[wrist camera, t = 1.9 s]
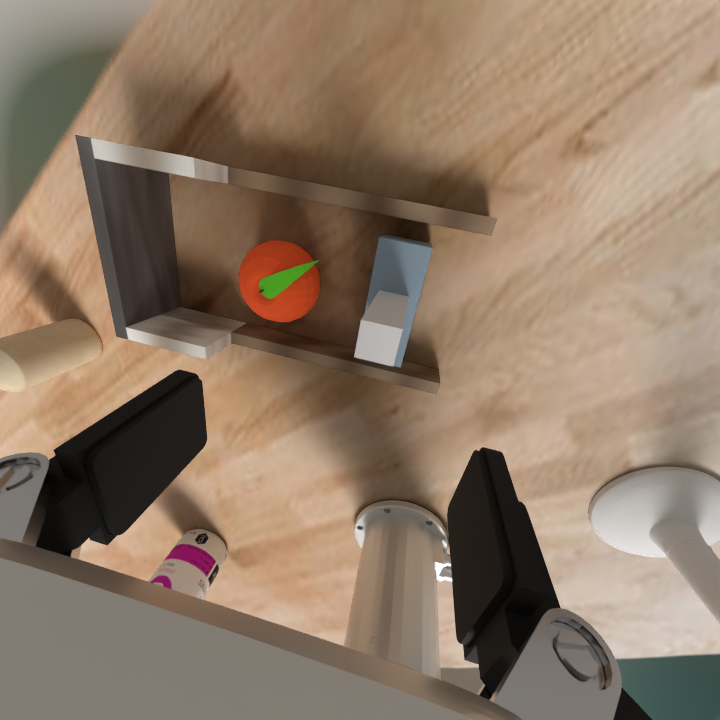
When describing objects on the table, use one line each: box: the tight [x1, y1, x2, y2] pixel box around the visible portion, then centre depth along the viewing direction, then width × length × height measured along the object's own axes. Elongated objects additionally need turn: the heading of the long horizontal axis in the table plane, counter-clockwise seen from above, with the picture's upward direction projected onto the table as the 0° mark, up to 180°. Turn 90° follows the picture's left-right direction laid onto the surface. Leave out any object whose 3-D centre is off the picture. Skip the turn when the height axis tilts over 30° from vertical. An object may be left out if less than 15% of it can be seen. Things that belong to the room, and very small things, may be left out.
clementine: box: [239, 240, 321, 322], centre depth 26 cm, size 8×7×7 cm
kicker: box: [354, 234, 433, 368], centre depth 23 cm, size 4×10×12 cm, turn 170°
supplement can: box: [148, 529, 227, 599], centre depth 46 cm, size 8×8×15 cm
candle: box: [0, 318, 103, 392], centre depth 34 cm, size 6×6×10 cm
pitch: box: [75, 135, 497, 394], centre depth 26 cm, size 30×15×7 cm, turn 80°
